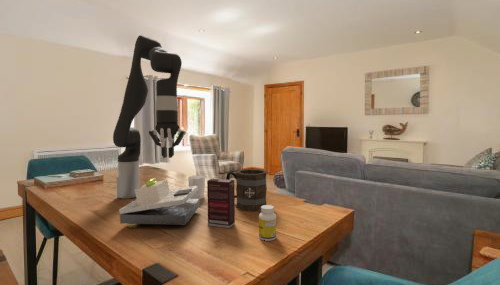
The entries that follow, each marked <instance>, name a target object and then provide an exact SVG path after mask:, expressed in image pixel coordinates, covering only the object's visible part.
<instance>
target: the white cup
mask: <svg viewBox="0 0 500 285" xmlns="http://www.w3.org/2000/svg"><path fill="white" fill-rule="evenodd" d="M187 180H188V187H192V186H198V190H197V191H196V192H195V193H194V194H193V195H192V196H191V197H190V198H189V199H199V200H201V199H204V198H205V191H206V190H205V188H206V186H205V185H206V183H205V182H206V176H205V175H199V174H198V175H196V174H195V175H190V176H188V178H187Z"/></svg>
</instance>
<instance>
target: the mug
mask: <svg viewBox="0 0 500 285" xmlns="http://www.w3.org/2000/svg"><path fill="white" fill-rule="evenodd" d="M267 172H268V170H265V169H259V168H258V169H255V168H253V169H251V168H248V169H239V170H237V171H236V172H234V171H230V172H227V173H226V174H227V175H226V177H225V179H229V180H231V178H230V177H231V176H233V178H234V180H236V188H235V191H236V192H235V193H236V194H235V199H236V204H235V206H236V207H235V208H236V209H238V210H241V211H243V212H259V211H261V206H263V205H268V203H267V190H268V189H267V188H268V187H267Z"/></svg>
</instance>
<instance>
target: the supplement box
mask: <svg viewBox="0 0 500 285" xmlns="http://www.w3.org/2000/svg"><path fill="white" fill-rule="evenodd" d="M206 183H207V186H206V187H207V192H206V193H207V226H210V227H211V226H212V227H216V228H217V227H220V228H226V229H230V228H232V227H233V226H234V225H235V224H236V217H235V216H236V214H235V212H236V210H235V208H236V207H235V206H236V204H235V200H236V198H235V195H236V194H235V193H236V192H235V179H230V180H229V179H226V178H214V177H213V178H211V179H209V180H207V181H206Z"/></svg>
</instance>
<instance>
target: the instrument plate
mask: <svg viewBox="0 0 500 285" xmlns="http://www.w3.org/2000/svg"><path fill="white" fill-rule="evenodd" d="M197 190H198V186H192V187H189V186H187V187H181V188H180V187H179V188H175V189H170V188H169V182H168V179H165V180H164V179H163V180H157V178H156V177H153V178H151V179H149V180H147V181H146V182H145V183H144V184H143V185H141V186H140V187H139V188H137V189H135V193H136V197H135V198H136V199H135V200H133V201H131V202H129V203H128V204H126V205H125V206H123V207H121V208H119V209H118V210H119V215H120V214H123V213H129V212H136V211H142V210H148V209H155V208H161V207H167V206H174V205H180V204H184V203H185V202H186V201H187V200H188V199H191V198H190V197H191V196H192V195H193V194H194V193H195V192H196V191H197Z"/></svg>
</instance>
